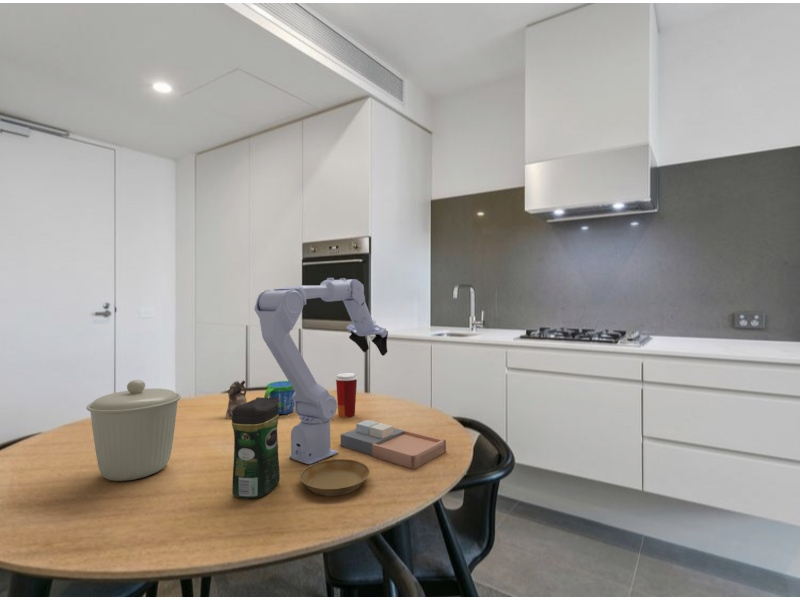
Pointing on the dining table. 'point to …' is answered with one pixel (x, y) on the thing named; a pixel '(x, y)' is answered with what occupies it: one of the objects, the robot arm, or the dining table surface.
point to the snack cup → (281, 395)
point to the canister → (133, 431)
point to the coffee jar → (255, 448)
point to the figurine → (236, 397)
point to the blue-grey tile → (365, 426)
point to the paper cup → (346, 394)
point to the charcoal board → (365, 440)
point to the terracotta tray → (410, 449)
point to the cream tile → (381, 430)
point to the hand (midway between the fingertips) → (375, 352)
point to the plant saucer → (334, 476)
